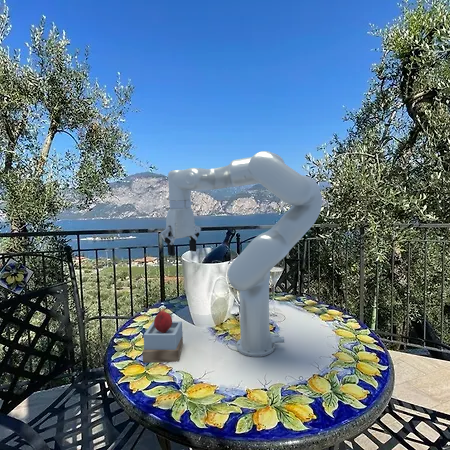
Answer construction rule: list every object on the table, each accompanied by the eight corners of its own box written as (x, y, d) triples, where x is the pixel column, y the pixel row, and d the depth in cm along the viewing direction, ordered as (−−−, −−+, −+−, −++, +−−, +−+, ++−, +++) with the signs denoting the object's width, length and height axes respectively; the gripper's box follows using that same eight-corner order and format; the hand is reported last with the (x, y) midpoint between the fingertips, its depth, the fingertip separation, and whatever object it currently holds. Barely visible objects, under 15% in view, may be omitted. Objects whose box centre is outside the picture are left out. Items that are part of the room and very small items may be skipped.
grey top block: (182, 335, 105) (182, 321, 105) (175, 349, 95) (175, 335, 95) (154, 334, 106) (153, 321, 106) (144, 349, 96) (143, 334, 96)
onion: (168, 337, 97) (166, 312, 96) (151, 336, 98) (149, 312, 98) (175, 329, 103) (174, 306, 102) (159, 329, 104) (157, 305, 103)
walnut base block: (183, 345, 107) (182, 334, 106) (178, 362, 96) (178, 350, 95) (151, 346, 106) (150, 335, 106) (143, 364, 95) (142, 351, 95)
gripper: (192, 204, 118) (194, 248, 120) (153, 206, 105) (156, 256, 107) (205, 204, 113) (207, 250, 114) (166, 207, 100) (169, 258, 102)
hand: (182, 253), depth 111 cm, fingers open, 9 cm apart
